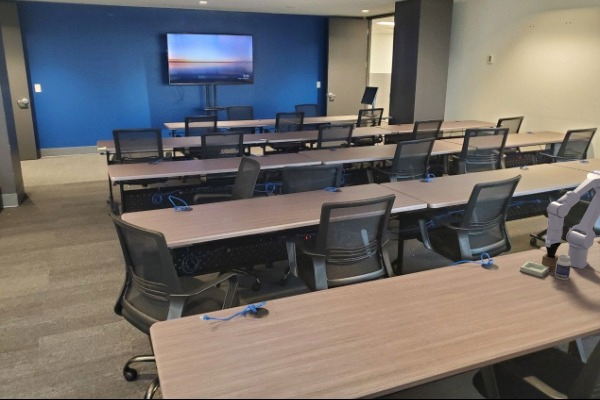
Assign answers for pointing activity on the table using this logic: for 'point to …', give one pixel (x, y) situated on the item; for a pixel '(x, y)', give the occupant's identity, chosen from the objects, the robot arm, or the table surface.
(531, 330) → the table surface
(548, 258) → the walnut block
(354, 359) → the table surface
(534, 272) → the tray
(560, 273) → the pill bottle
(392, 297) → the table surface
